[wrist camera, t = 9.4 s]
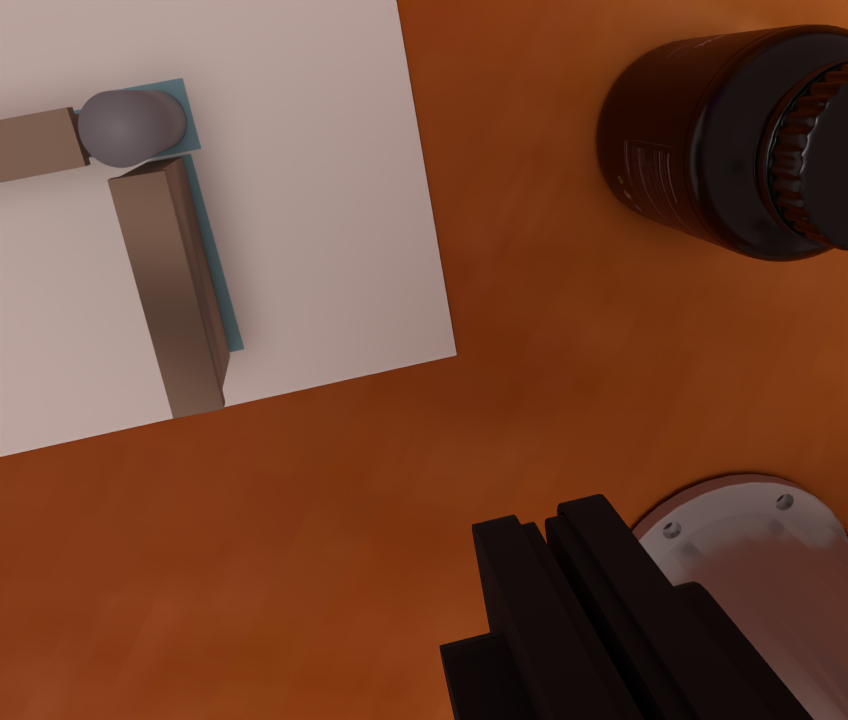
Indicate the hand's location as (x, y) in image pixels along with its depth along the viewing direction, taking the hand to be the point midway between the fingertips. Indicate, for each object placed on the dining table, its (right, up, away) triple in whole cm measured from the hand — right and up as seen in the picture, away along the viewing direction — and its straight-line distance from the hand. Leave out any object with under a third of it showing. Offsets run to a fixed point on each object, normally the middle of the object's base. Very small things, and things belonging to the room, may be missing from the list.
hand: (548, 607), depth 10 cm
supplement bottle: (+8, +12, +21) cm, 25 cm away
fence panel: (-10, +7, +19) cm, 22 cm away
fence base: (-11, +9, +19) cm, 23 cm away
